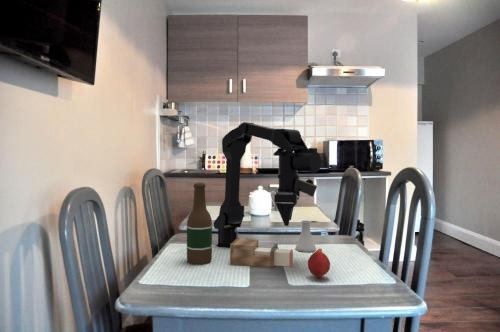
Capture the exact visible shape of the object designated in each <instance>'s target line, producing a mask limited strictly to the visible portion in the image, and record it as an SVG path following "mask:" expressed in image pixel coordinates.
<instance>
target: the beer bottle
mask: <svg viewBox="0 0 500 332" xmlns="http://www.w3.org/2000/svg"><path fill="white" fill-rule="evenodd" d="M192 187H193V189H194V190H193V192H194V193H193V203H192V210H191V212H190V213H189V215H188V217H187V222H186V261H187V263H189V264H191V265H195V266H197V265H198V266H199V265H201V266H202V265H205V264H210V262H211V261H212V258H213V257H212V256H213V255H212V254H213V223H212V222H213V220H212V217H211V213H210V212H209V211H208V209H207V203H206V183H205V182H195V183H193V186H192Z"/></svg>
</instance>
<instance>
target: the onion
mask: <svg viewBox="0 0 500 332" xmlns="http://www.w3.org/2000/svg"><path fill="white" fill-rule="evenodd" d="M307 268H308V270H309V272H310V273H311V274H312V275H313V276H314V277H315V278H317V279H321V278H323V277H324V276H325V275H326V274H327V273H329V271H330V268H331V262H330V259H329V257H328V256H327V255H326V253H324V252H323V249H322V248H320V247H319V248H317V249H316V250H315V251H314V252H313V253H312V254H311V255H309V257H308V259H307Z"/></svg>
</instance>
